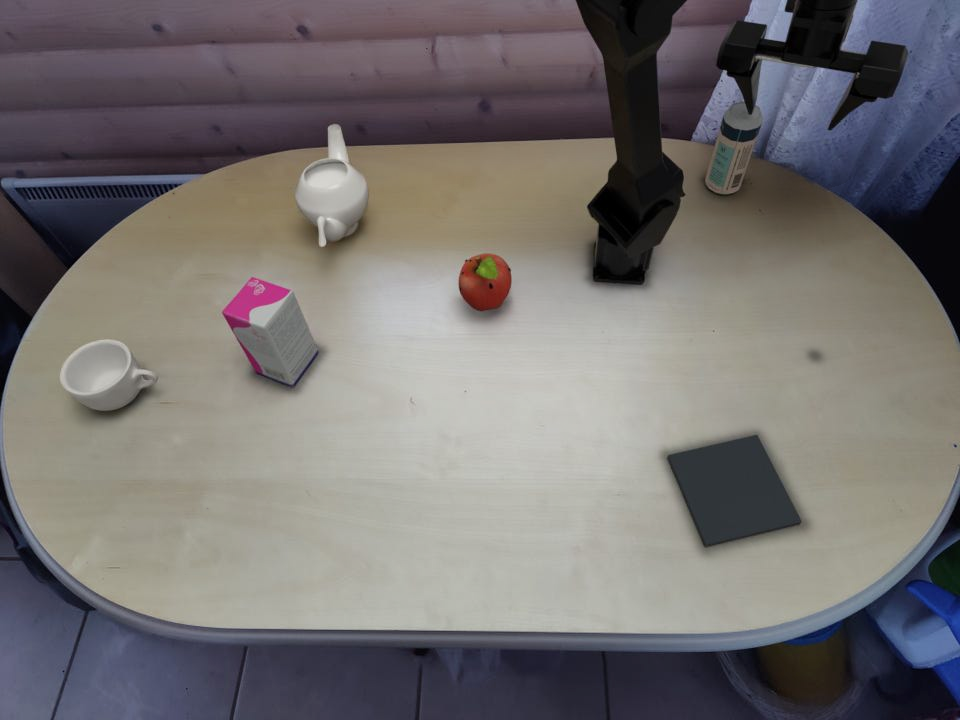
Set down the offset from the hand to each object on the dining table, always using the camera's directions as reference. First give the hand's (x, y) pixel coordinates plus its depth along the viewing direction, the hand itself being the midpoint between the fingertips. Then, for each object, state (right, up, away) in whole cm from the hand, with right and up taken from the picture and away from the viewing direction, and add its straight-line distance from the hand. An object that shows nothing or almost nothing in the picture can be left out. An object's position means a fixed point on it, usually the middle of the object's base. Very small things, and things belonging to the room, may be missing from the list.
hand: (789, 120), depth 82 cm
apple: (-36, -22, +3) cm, 43 cm away
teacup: (-79, -33, -1) cm, 86 cm away
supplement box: (-61, -29, 0) cm, 67 cm away
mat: (-12, -42, -12) cm, 46 cm away
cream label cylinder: (-4, -5, +13) cm, 14 cm away
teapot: (-57, -10, +12) cm, 59 cm away
